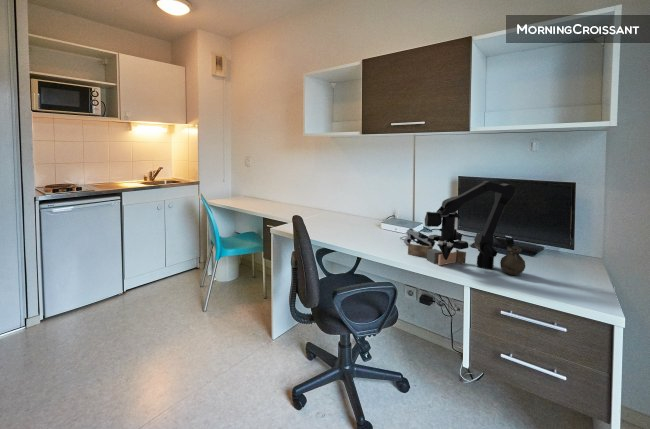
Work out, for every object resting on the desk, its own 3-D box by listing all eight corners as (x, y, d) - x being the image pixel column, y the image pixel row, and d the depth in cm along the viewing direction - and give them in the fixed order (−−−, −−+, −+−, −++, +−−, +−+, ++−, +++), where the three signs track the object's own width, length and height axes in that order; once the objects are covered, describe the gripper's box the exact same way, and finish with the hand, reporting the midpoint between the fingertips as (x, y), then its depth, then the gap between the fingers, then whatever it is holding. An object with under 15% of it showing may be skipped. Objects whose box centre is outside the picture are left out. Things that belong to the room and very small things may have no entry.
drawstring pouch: (515, 269, 156) (518, 244, 154) (529, 277, 147) (532, 250, 145) (495, 270, 156) (497, 244, 154) (506, 277, 147) (509, 250, 144)
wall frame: (465, 262, 166) (466, 250, 165) (464, 263, 164) (465, 251, 163) (408, 253, 180) (409, 242, 179) (407, 254, 179) (408, 243, 177)
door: (454, 261, 167) (455, 251, 166) (455, 261, 166) (456, 251, 165) (438, 264, 162) (438, 254, 161) (439, 265, 161) (440, 255, 160)
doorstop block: (426, 260, 170) (427, 249, 168) (434, 259, 171) (435, 248, 170) (434, 264, 164) (434, 252, 163) (442, 263, 165) (442, 252, 164)
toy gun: (428, 256, 188) (435, 240, 185) (402, 242, 197) (407, 227, 194) (430, 255, 190) (436, 239, 186) (403, 242, 199) (409, 226, 195)
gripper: (477, 228, 155) (474, 261, 157) (442, 222, 170) (440, 252, 172) (461, 231, 149) (459, 265, 151) (427, 224, 164) (425, 255, 166)
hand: (446, 259), depth 160 cm, fingers closed
